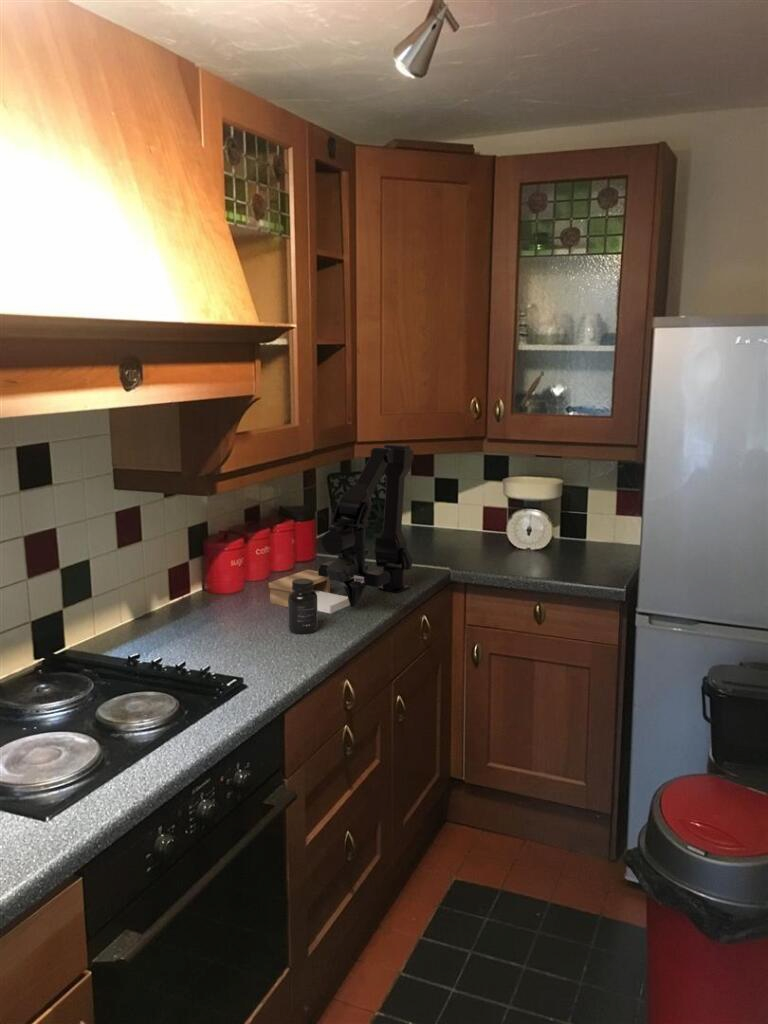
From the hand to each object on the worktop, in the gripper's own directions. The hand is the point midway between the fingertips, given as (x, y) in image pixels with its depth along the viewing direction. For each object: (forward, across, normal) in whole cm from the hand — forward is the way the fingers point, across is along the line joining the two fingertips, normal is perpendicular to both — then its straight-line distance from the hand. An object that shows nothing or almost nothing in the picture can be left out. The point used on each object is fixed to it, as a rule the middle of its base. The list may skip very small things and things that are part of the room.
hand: (353, 606), depth 218 cm
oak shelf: (+1, -17, 0) cm, 17 cm away
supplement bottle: (+1, -1, -19) cm, 19 cm away
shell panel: (+2, -11, -1) cm, 11 cm away
